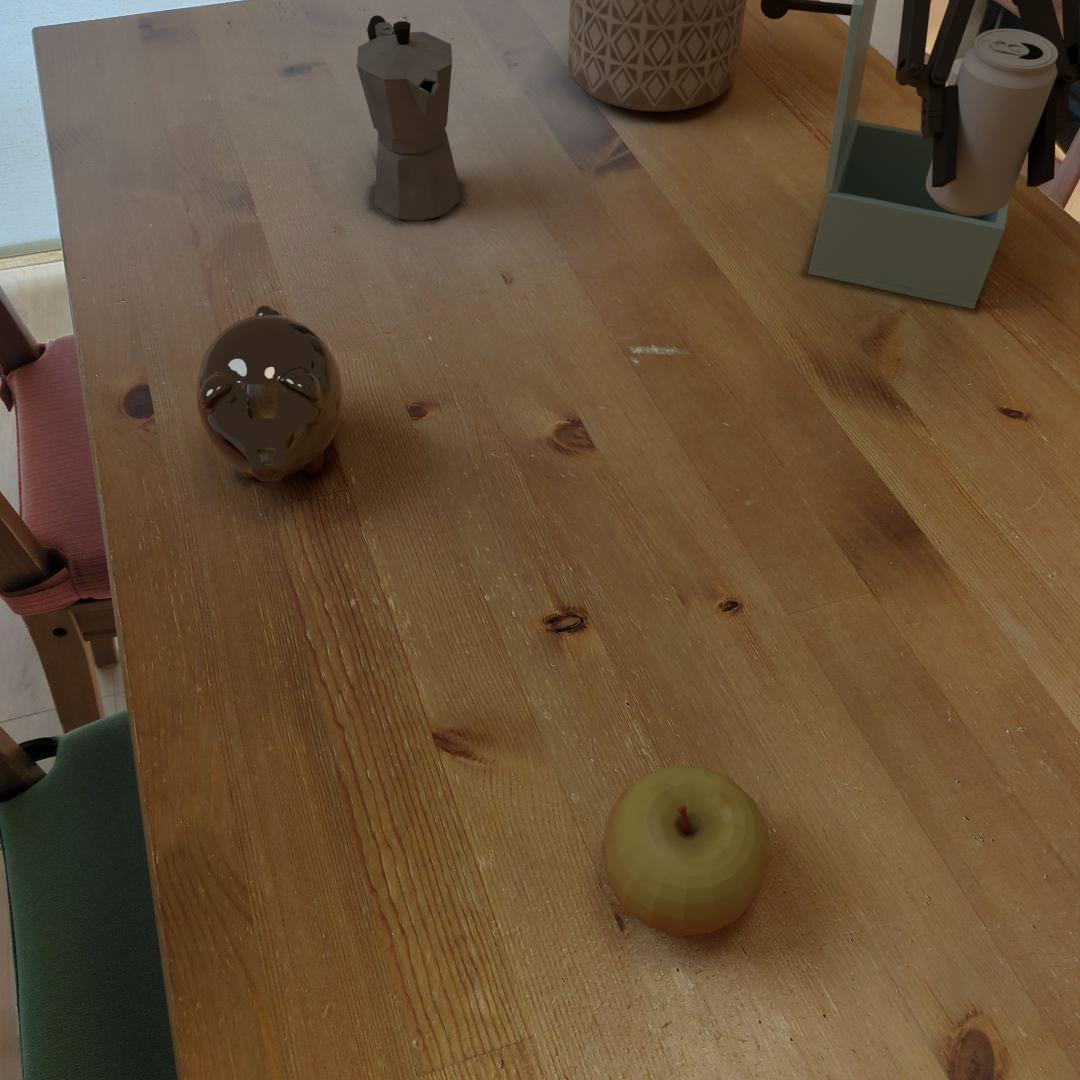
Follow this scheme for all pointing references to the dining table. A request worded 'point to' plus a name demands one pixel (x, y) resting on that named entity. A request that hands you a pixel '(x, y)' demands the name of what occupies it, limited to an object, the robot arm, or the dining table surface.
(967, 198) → the beverage can
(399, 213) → the coffeepot
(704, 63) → the planter
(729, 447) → the dining table surface
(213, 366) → the piggy bank
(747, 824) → the apple
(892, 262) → the open box
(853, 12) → the lid
